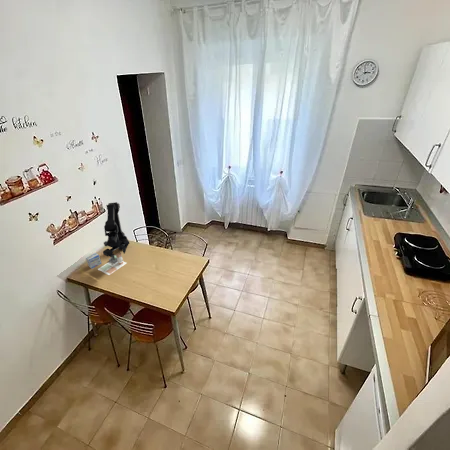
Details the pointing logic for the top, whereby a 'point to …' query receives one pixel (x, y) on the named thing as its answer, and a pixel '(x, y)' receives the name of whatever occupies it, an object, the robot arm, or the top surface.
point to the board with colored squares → (111, 266)
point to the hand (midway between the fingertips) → (119, 256)
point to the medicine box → (93, 260)
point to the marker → (119, 258)
